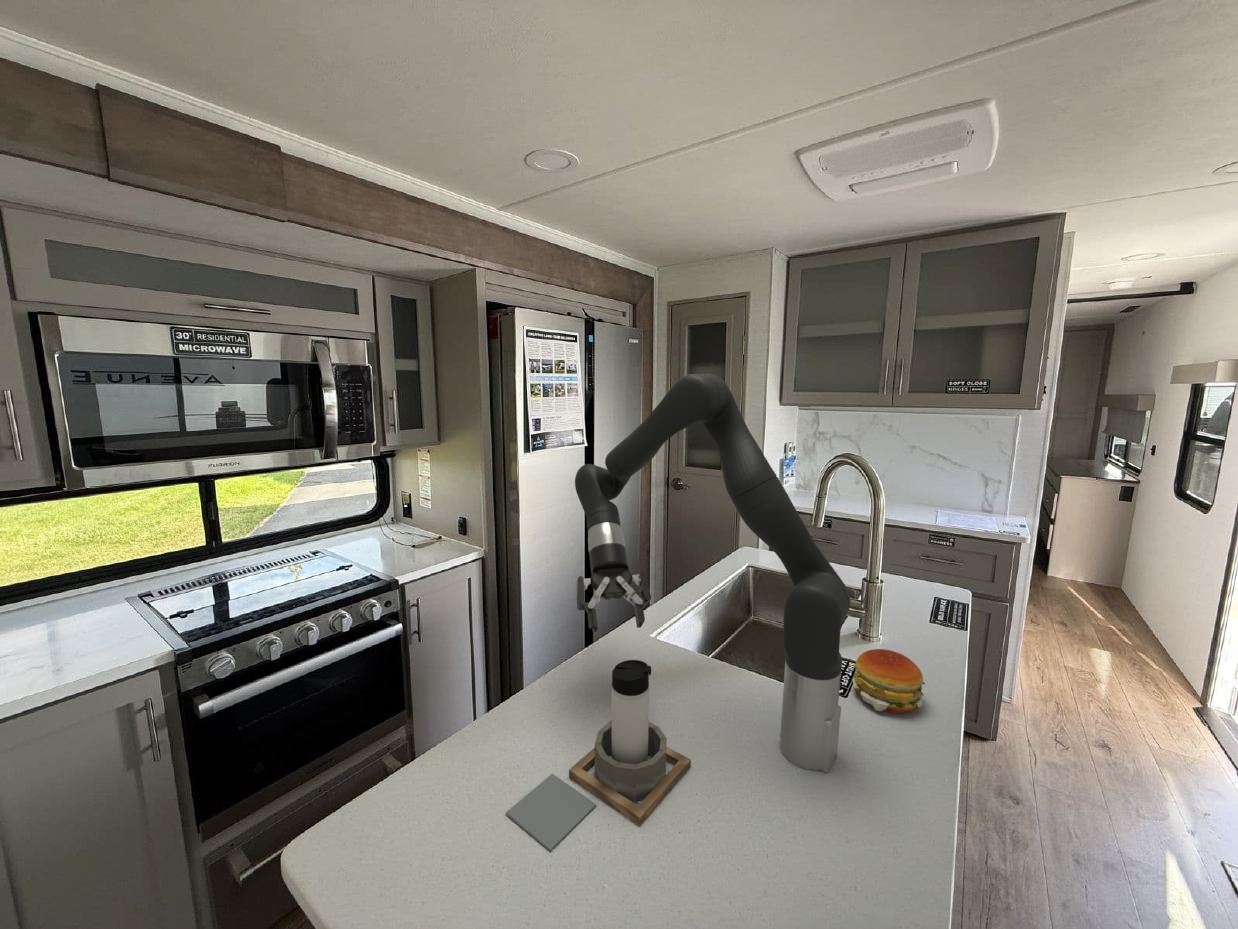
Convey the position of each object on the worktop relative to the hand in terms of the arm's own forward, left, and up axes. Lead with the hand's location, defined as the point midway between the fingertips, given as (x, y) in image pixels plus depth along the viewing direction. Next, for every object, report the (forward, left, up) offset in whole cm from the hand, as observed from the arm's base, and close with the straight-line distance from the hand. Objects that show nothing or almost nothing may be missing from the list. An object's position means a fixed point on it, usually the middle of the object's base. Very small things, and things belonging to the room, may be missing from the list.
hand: (617, 628), depth 95 cm
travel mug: (-9, +8, -21) cm, 24 cm away
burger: (-39, -42, -21) cm, 61 cm away
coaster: (-4, +22, -21) cm, 30 cm away
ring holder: (-9, +8, -21) cm, 24 cm away
